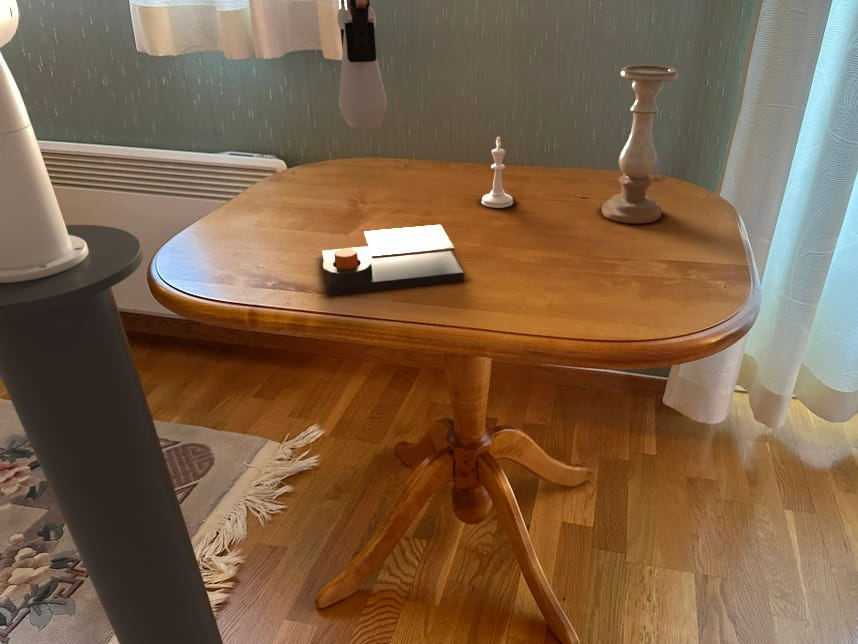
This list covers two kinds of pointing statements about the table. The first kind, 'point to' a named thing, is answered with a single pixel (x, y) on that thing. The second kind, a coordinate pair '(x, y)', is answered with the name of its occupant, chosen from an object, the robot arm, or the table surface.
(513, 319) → the table surface
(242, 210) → the table surface
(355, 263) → the button
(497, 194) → the chess piece
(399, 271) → the scale
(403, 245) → the weighing plate
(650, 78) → the candle holder
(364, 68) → the salt shaker
